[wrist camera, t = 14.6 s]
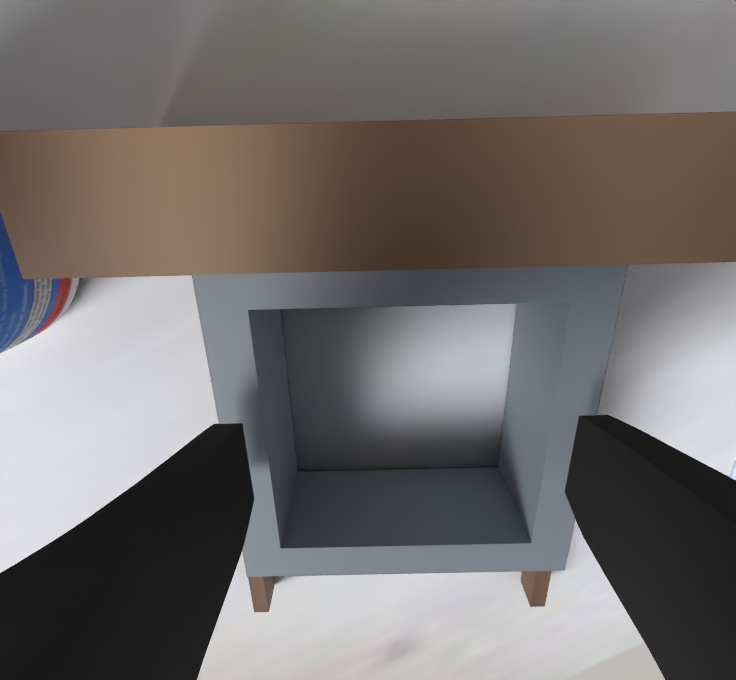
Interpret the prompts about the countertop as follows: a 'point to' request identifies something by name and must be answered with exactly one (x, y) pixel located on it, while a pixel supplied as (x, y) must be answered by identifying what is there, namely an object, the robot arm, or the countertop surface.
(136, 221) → the wall
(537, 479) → the socket block
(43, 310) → the pill bottle
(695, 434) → the countertop surface
